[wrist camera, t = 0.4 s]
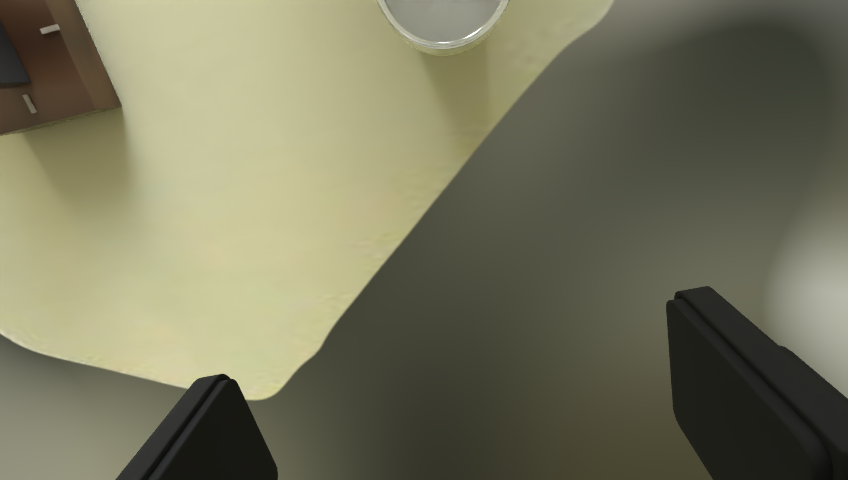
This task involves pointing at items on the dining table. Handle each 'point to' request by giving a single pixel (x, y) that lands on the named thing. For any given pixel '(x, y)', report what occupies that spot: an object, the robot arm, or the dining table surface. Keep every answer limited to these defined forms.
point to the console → (52, 66)
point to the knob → (10, 64)
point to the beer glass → (443, 22)
